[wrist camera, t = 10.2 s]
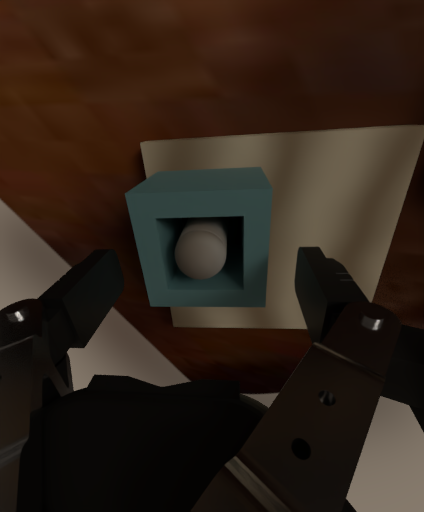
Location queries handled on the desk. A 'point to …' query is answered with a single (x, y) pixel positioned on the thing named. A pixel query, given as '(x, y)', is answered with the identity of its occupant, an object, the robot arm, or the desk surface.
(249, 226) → the teal square frame
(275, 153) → the post board
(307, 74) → the desk surface
